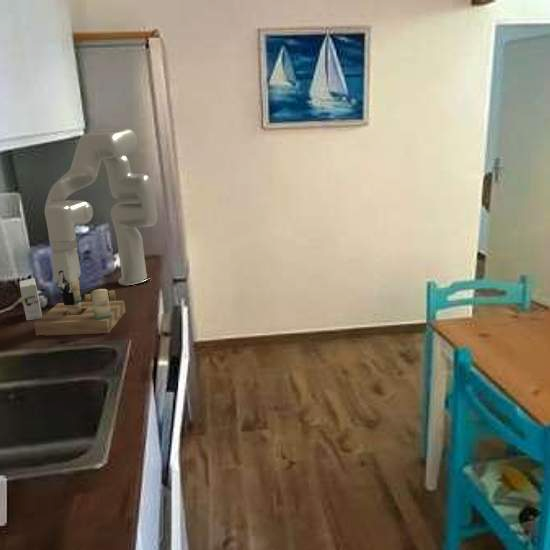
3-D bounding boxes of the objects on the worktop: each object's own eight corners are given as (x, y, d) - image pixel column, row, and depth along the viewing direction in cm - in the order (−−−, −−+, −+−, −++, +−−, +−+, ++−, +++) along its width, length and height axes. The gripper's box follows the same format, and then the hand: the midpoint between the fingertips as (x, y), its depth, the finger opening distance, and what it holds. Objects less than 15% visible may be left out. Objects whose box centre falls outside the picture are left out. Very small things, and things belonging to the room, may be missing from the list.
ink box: (25, 313, 176) (18, 280, 172) (40, 310, 178) (34, 277, 175) (26, 321, 169) (19, 286, 165) (42, 318, 171) (36, 284, 167)
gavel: (83, 283, 196) (110, 280, 200) (85, 295, 197) (112, 291, 201) (84, 296, 177) (114, 291, 181) (86, 308, 178) (116, 304, 182)
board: (60, 314, 173) (54, 280, 170) (125, 311, 173) (120, 277, 169) (36, 335, 156) (29, 298, 152) (108, 333, 156) (103, 295, 152)
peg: (70, 310, 165) (64, 274, 162) (85, 309, 165) (79, 273, 162) (64, 315, 161) (58, 279, 157) (79, 315, 161) (74, 278, 157)
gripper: (62, 239, 165) (71, 293, 170) (39, 252, 149) (49, 311, 154) (86, 238, 165) (94, 292, 170) (65, 251, 149) (74, 310, 154)
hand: (73, 301), depth 162 cm, fingers closed on peg, 4 cm apart
